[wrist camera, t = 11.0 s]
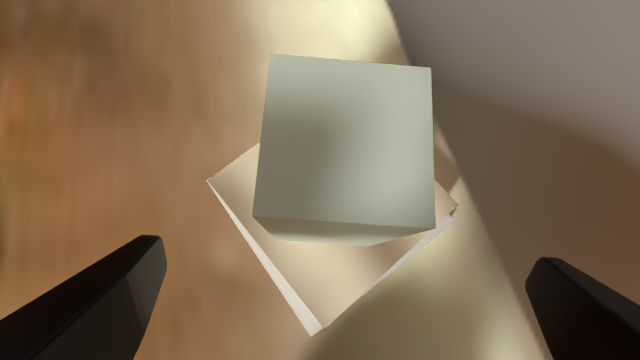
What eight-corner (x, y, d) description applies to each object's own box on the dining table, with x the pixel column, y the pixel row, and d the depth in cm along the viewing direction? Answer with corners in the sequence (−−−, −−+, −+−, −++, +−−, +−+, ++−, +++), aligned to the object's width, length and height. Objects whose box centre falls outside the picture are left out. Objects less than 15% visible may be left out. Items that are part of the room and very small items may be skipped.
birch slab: (321, 322, 18) (324, 329, 16) (216, 188, 20) (207, 180, 18) (443, 210, 20) (458, 204, 19) (339, 96, 22) (343, 80, 20)
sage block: (368, 246, 18) (435, 228, 9) (275, 240, 17) (252, 215, 9) (370, 158, 19) (431, 67, 10) (284, 151, 19) (270, 53, 10)
